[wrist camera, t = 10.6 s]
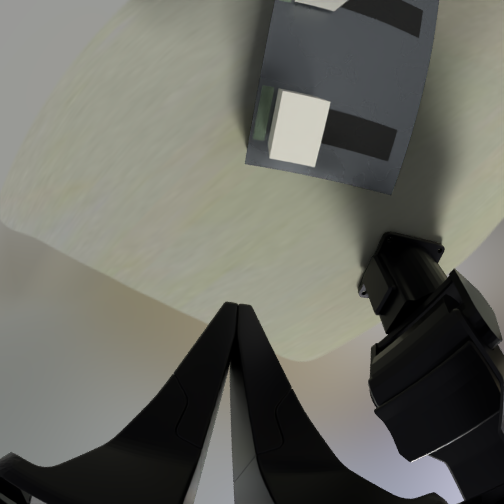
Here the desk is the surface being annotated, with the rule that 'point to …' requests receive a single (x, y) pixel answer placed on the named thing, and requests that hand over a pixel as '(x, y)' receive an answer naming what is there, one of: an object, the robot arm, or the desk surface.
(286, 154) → the handle
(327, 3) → the handle
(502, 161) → the desk surface
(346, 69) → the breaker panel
